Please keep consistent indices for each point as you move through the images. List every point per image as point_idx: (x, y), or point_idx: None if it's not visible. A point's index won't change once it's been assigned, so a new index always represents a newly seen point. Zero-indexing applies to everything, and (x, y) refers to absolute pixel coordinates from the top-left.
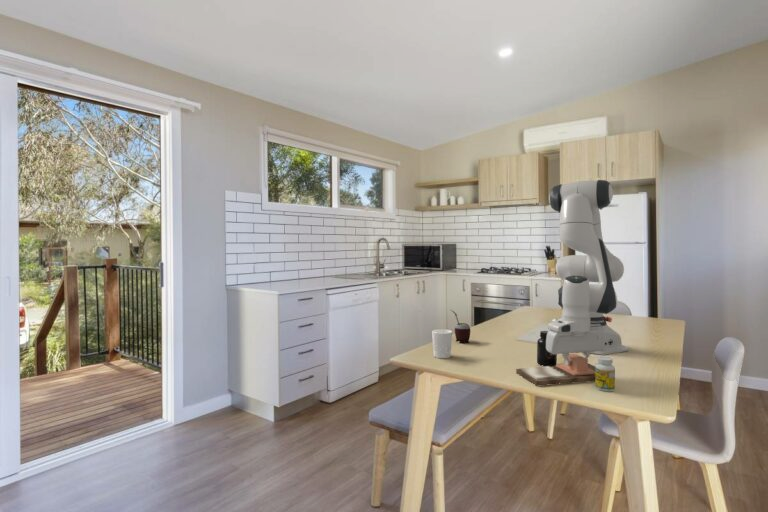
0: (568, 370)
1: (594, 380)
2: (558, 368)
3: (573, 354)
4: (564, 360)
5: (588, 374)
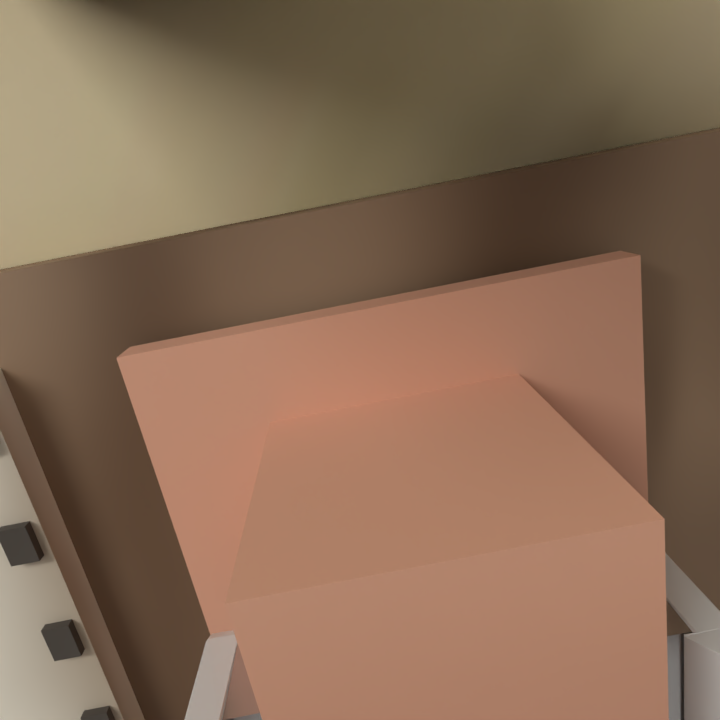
0: None
1: None
2: None
3: (552, 632)
4: (259, 500)
5: None
